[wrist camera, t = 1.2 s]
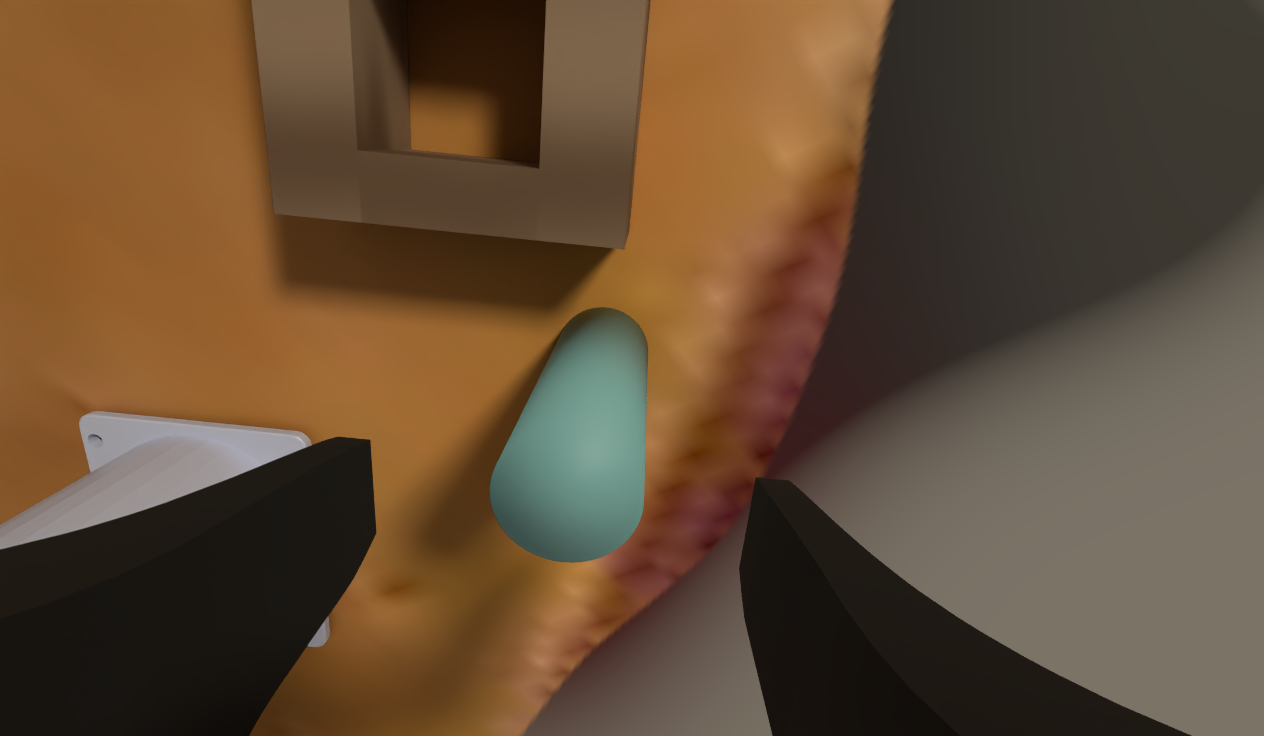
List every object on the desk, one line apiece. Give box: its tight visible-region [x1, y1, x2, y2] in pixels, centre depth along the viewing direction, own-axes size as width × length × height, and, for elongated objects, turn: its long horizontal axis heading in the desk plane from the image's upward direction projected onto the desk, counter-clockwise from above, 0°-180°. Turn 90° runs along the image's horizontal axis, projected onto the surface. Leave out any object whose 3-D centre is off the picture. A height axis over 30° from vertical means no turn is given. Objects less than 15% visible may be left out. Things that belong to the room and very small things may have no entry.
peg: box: [490, 308, 648, 562], centre depth 16 cm, size 3×3×9 cm
